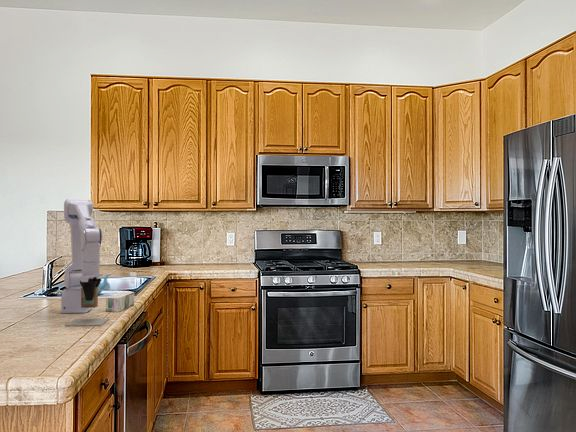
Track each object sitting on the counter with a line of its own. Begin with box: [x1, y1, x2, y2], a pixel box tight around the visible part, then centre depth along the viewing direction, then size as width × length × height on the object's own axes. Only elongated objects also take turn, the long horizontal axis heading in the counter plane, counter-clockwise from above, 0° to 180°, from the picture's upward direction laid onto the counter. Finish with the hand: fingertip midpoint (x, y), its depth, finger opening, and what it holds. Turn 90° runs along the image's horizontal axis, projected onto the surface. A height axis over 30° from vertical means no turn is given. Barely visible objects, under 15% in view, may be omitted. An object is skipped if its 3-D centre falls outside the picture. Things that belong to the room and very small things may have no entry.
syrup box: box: [105, 291, 135, 313], centre depth 194 cm, size 6×6×14 cm
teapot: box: [98, 273, 111, 296], centre depth 226 cm, size 15×15×10 cm
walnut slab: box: [81, 287, 99, 309], centre depth 170 cm, size 5×2×7 cm, turn 96°
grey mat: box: [64, 318, 110, 327], centre depth 167 cm, size 12×10×1 cm
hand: (90, 299), depth 170 cm, fingers closed on walnut slab, 2 cm apart
